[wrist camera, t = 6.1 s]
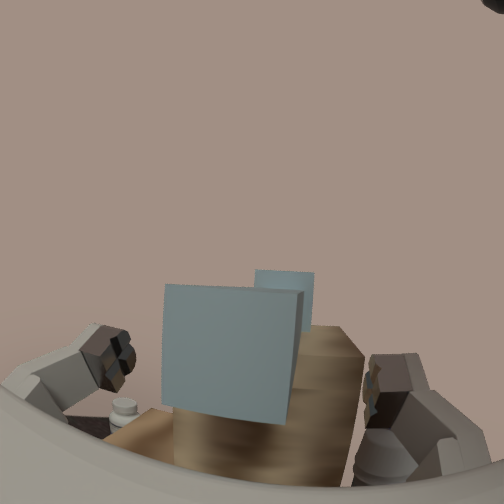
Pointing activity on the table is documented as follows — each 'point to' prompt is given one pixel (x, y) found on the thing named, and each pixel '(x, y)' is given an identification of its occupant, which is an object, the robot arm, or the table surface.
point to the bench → (147, 436)
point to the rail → (235, 345)
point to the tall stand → (295, 429)
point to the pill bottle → (122, 413)
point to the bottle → (381, 459)
